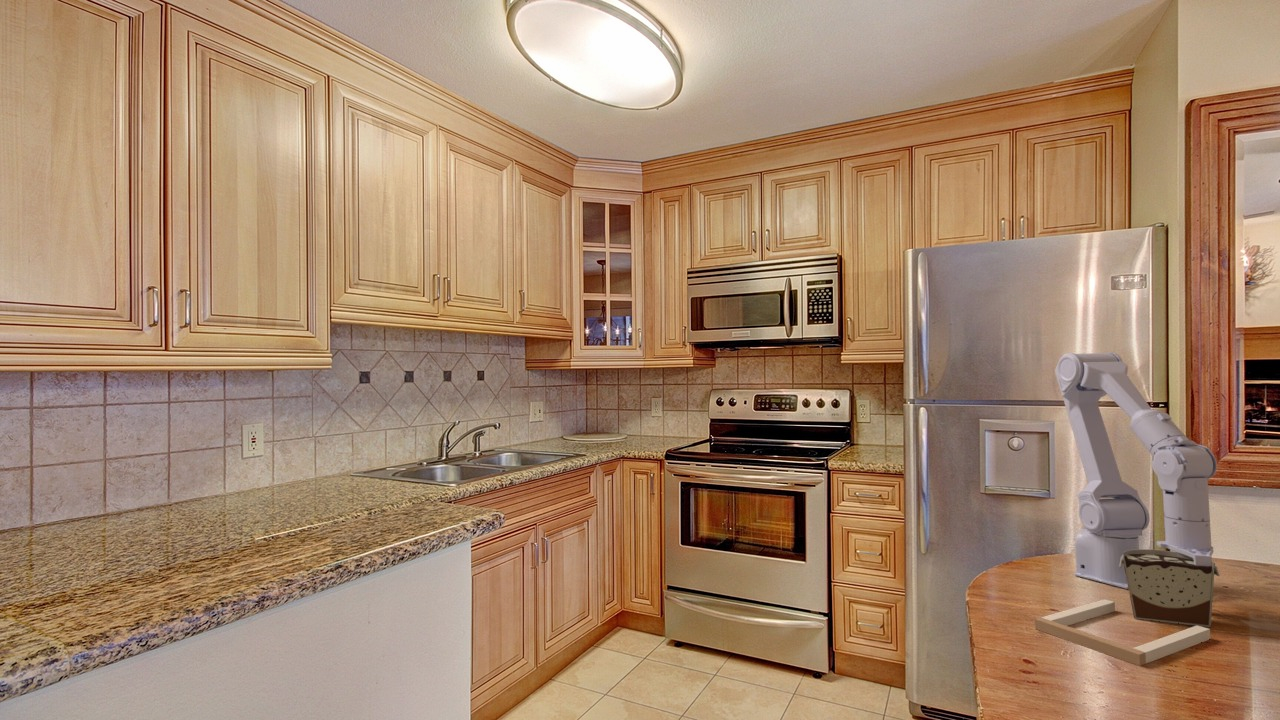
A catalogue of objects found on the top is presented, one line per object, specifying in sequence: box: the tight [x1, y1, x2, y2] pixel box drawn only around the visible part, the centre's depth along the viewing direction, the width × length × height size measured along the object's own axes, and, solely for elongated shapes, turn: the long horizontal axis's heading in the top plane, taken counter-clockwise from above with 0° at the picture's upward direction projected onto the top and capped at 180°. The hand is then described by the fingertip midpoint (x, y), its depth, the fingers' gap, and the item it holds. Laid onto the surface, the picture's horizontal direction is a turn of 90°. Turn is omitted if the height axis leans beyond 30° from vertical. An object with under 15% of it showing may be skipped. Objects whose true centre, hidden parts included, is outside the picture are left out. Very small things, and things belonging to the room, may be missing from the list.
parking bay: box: [1034, 598, 1211, 667], centre depth 92 cm, size 14×18×2 cm
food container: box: [1119, 548, 1221, 628], centre depth 99 cm, size 12×6×10 cm, turn 64°
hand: (1191, 600), depth 101 cm, fingers closed
